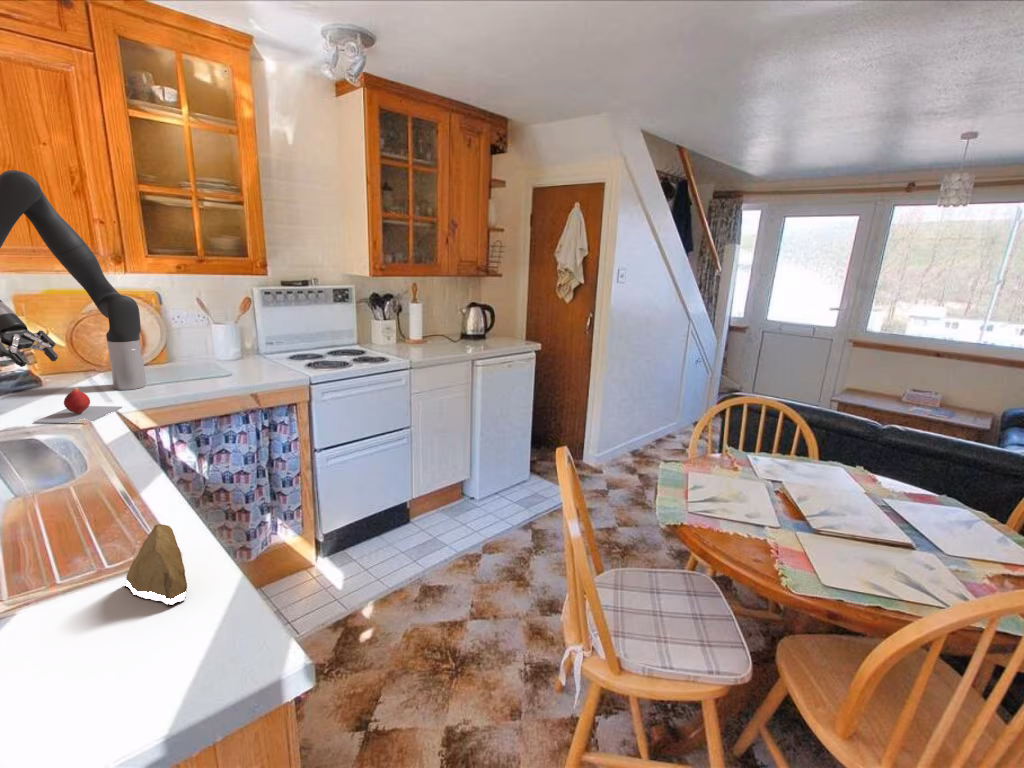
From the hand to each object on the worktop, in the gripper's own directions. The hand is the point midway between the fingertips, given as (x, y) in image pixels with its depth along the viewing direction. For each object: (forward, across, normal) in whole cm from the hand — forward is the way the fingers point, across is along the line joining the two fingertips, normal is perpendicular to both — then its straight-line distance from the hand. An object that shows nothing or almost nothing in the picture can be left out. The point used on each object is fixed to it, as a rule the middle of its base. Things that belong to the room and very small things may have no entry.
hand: (40, 362), depth 147 cm
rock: (+81, -62, -59) cm, 118 cm away
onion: (+18, 0, +3) cm, 19 cm away
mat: (+19, 0, +3) cm, 19 cm away
